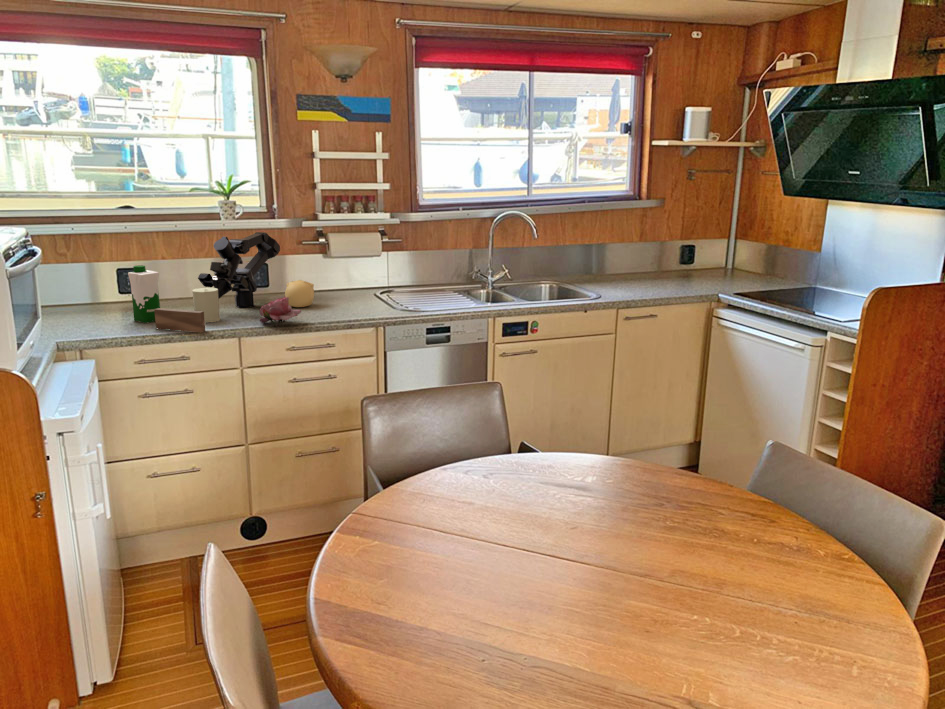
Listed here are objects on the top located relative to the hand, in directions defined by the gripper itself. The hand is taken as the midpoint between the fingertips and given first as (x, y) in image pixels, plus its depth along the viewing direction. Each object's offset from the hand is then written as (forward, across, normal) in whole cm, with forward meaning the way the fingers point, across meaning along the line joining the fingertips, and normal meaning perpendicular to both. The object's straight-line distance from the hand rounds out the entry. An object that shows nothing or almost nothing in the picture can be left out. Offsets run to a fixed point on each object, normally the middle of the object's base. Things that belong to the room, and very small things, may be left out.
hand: (215, 299), depth 290 cm
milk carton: (+14, -20, -4) cm, 25 cm away
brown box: (+21, 0, -11) cm, 24 cm away
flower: (+8, +29, +2) cm, 30 cm away
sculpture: (-15, +21, +24) cm, 35 cm away
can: (+9, 0, 0) cm, 9 cm away
